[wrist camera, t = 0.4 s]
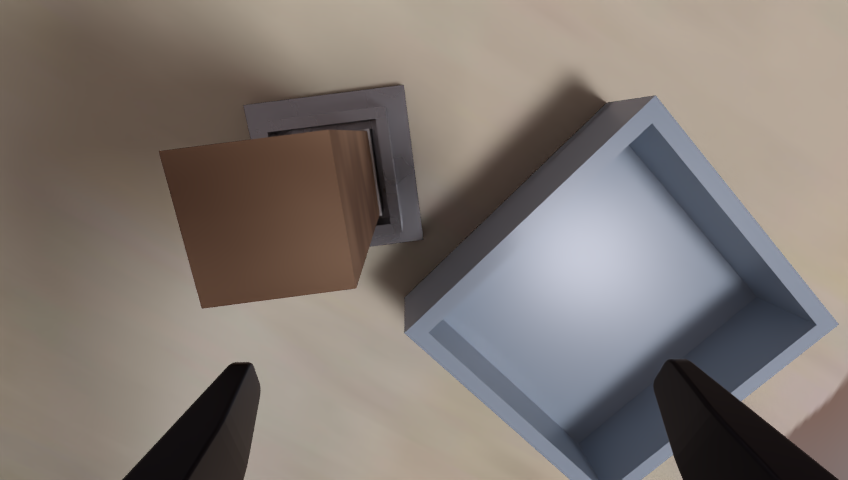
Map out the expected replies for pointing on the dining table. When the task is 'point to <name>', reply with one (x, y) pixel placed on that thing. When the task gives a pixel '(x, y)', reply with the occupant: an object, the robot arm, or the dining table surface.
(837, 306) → the dining table surface
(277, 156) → the strut
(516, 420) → the bin
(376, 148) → the socket block
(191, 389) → the dining table surface
